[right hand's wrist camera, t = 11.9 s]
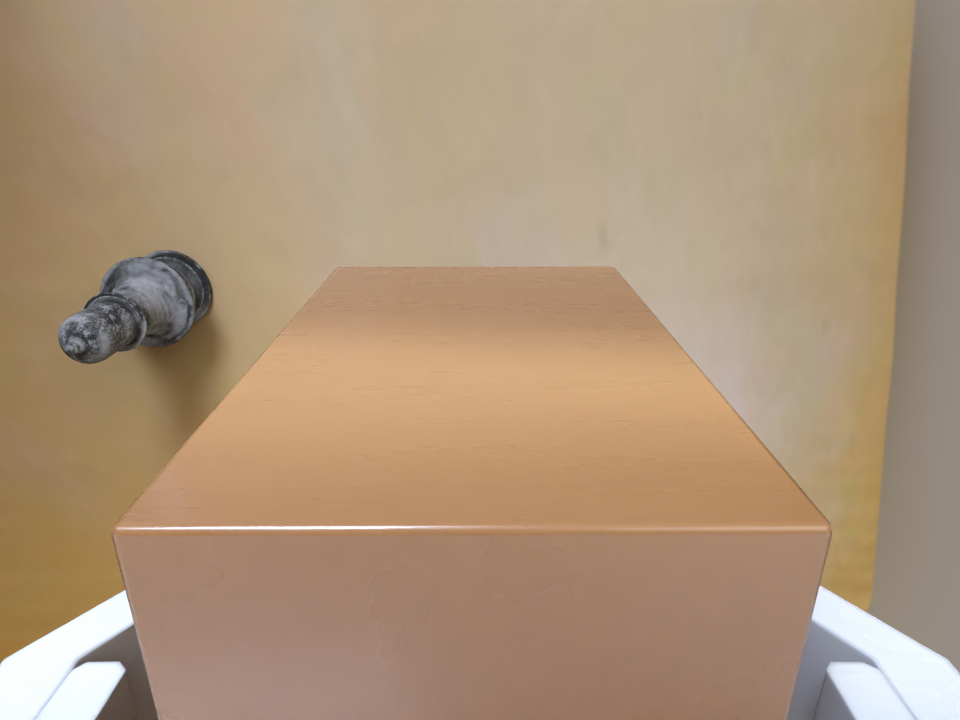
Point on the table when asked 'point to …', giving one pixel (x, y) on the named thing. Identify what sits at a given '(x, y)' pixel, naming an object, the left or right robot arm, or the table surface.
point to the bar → (473, 519)
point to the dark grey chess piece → (138, 307)
